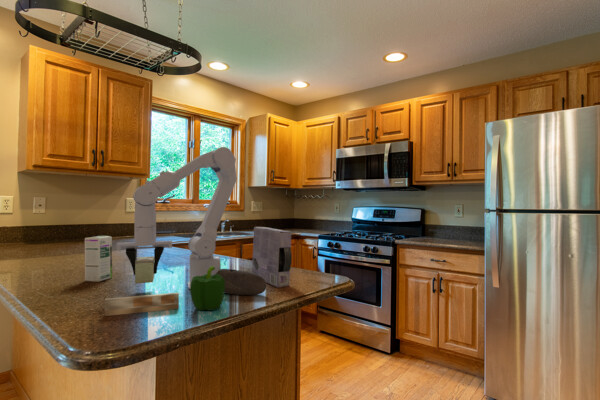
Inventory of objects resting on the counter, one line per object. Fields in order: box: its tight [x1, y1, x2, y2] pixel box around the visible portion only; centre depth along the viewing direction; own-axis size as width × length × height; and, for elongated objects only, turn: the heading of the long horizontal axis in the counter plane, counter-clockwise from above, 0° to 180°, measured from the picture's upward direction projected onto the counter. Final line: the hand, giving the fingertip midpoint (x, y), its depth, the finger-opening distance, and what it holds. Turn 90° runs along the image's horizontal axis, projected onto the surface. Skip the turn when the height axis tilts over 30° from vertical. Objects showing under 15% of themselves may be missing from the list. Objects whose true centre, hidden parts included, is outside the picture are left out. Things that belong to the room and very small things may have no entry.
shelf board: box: [104, 292, 180, 317], centre depth 85 cm, size 16×11×4 cm
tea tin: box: [134, 255, 155, 284], centre depth 97 cm, size 8×5×6 cm, turn 21°
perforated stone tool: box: [216, 268, 268, 296], centre depth 96 cm, size 15×5×7 cm, turn 75°
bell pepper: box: [190, 266, 225, 311], centre depth 83 cm, size 8×8×10 cm
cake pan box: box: [251, 226, 293, 288], centre depth 112 cm, size 19×5×18 cm, turn 34°
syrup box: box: [84, 235, 113, 283], centre depth 113 cm, size 6×6×14 cm
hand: (145, 273), depth 98 cm, fingers closed on tea tin, 5 cm apart
